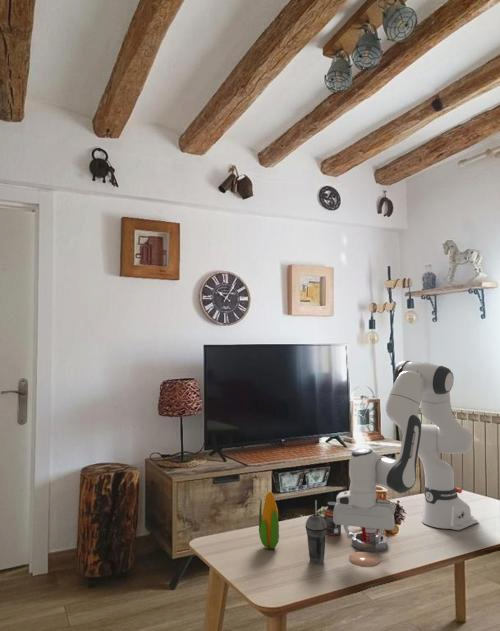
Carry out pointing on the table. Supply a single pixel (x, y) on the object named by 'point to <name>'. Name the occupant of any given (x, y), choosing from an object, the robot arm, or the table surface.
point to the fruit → (322, 511)
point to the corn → (269, 522)
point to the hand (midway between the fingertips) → (363, 539)
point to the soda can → (369, 535)
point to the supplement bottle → (331, 520)
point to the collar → (368, 546)
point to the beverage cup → (316, 537)
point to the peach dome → (364, 559)
